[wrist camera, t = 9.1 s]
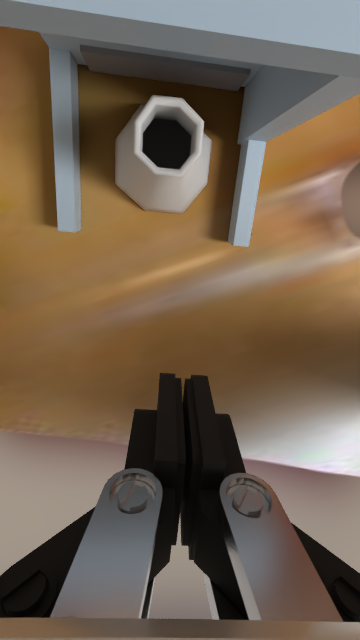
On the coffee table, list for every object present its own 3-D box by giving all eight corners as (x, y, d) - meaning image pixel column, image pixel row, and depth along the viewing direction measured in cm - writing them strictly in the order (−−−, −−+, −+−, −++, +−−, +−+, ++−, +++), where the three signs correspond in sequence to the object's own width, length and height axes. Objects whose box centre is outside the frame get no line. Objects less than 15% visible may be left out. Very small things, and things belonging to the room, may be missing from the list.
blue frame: (270, 63, 21) (495, -203, 7) (241, 243, 25) (348, 296, 11) (57, 32, 20) (-181, -378, 6) (65, 228, 24) (-60, 268, 10)
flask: (188, 229, 25) (208, 247, 15) (99, 190, 23) (63, 185, 14) (227, 133, 22) (279, 87, 13) (132, 84, 21) (115, -8, 12)
